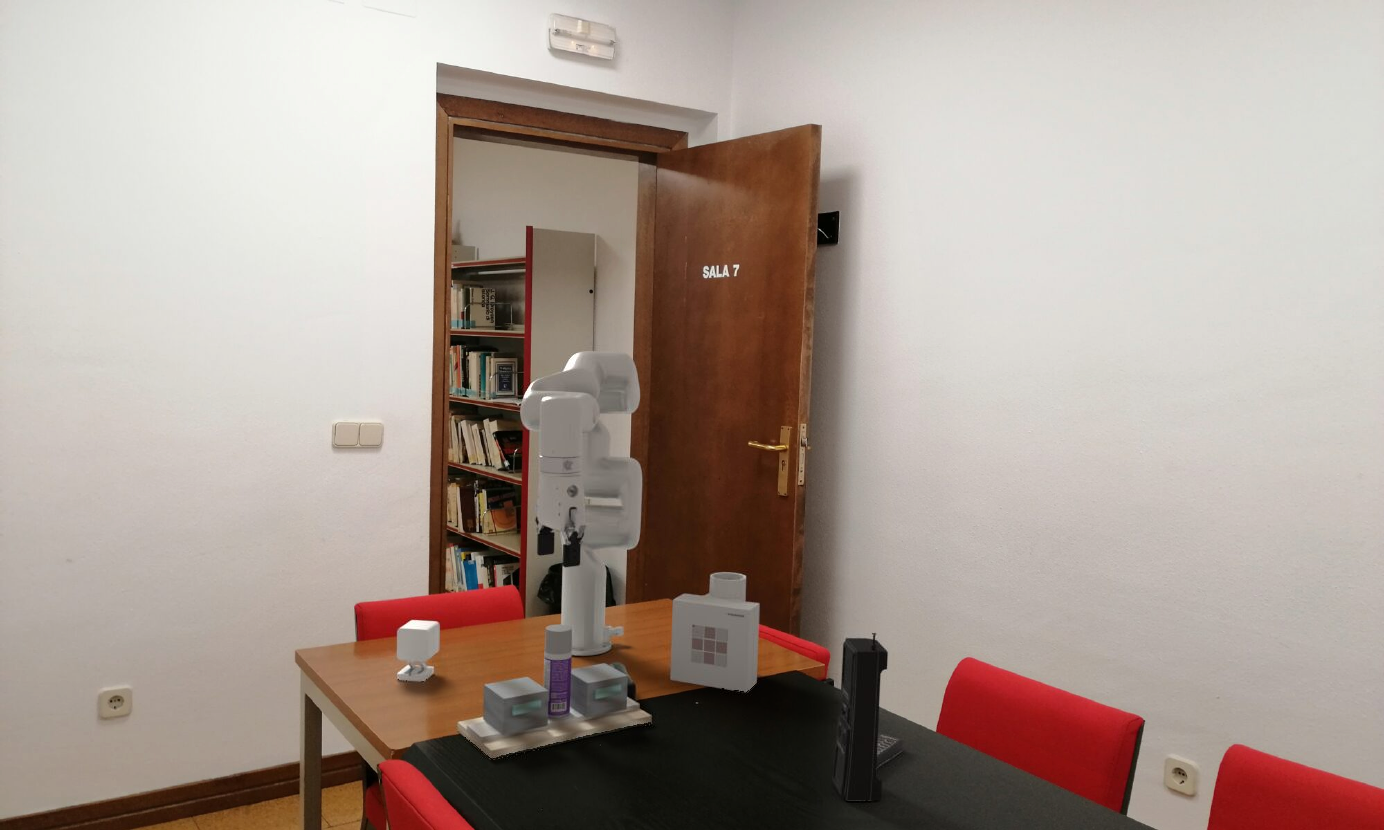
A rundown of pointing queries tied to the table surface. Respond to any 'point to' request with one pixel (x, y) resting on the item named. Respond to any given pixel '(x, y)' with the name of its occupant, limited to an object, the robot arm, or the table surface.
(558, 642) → the container
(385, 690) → the table surface
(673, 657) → the white square bottle
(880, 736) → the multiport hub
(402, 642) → the security camera
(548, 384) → the robot arm
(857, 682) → the portable radio
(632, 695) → the dark grey rounded bar
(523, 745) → the rail panel
